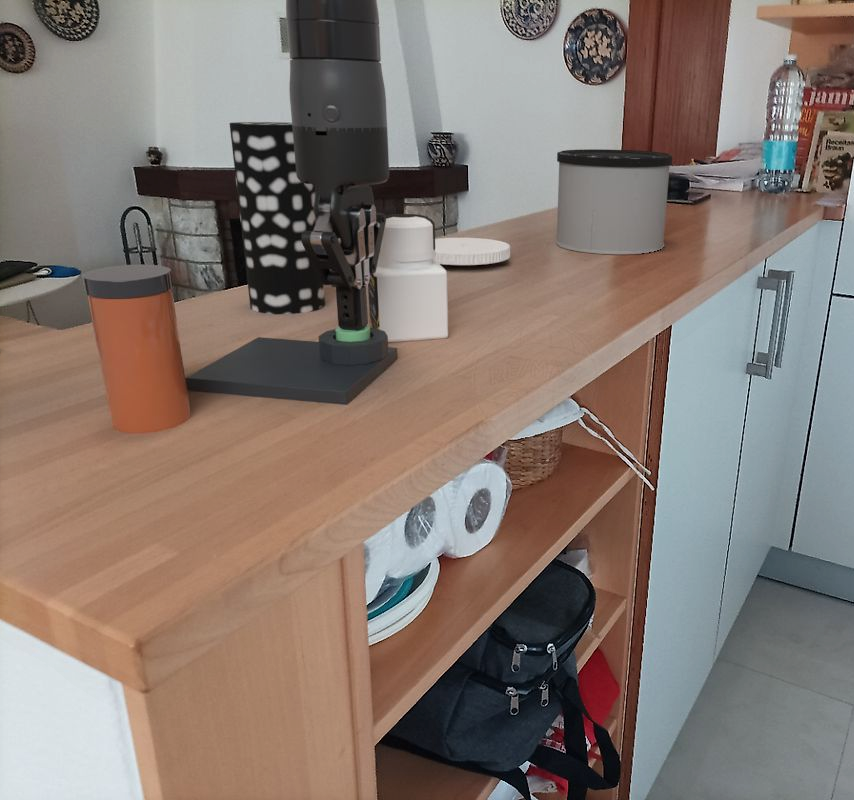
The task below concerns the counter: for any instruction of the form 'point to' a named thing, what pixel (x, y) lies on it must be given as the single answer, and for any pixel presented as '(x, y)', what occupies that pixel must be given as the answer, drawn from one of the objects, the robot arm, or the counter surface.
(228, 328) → the counter surface
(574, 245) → the container
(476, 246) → the plastic lid
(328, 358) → the scale
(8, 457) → the counter surface
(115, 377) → the spice jar
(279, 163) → the spotted tube
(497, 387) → the counter surface
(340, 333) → the button
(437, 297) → the medicine bottle
